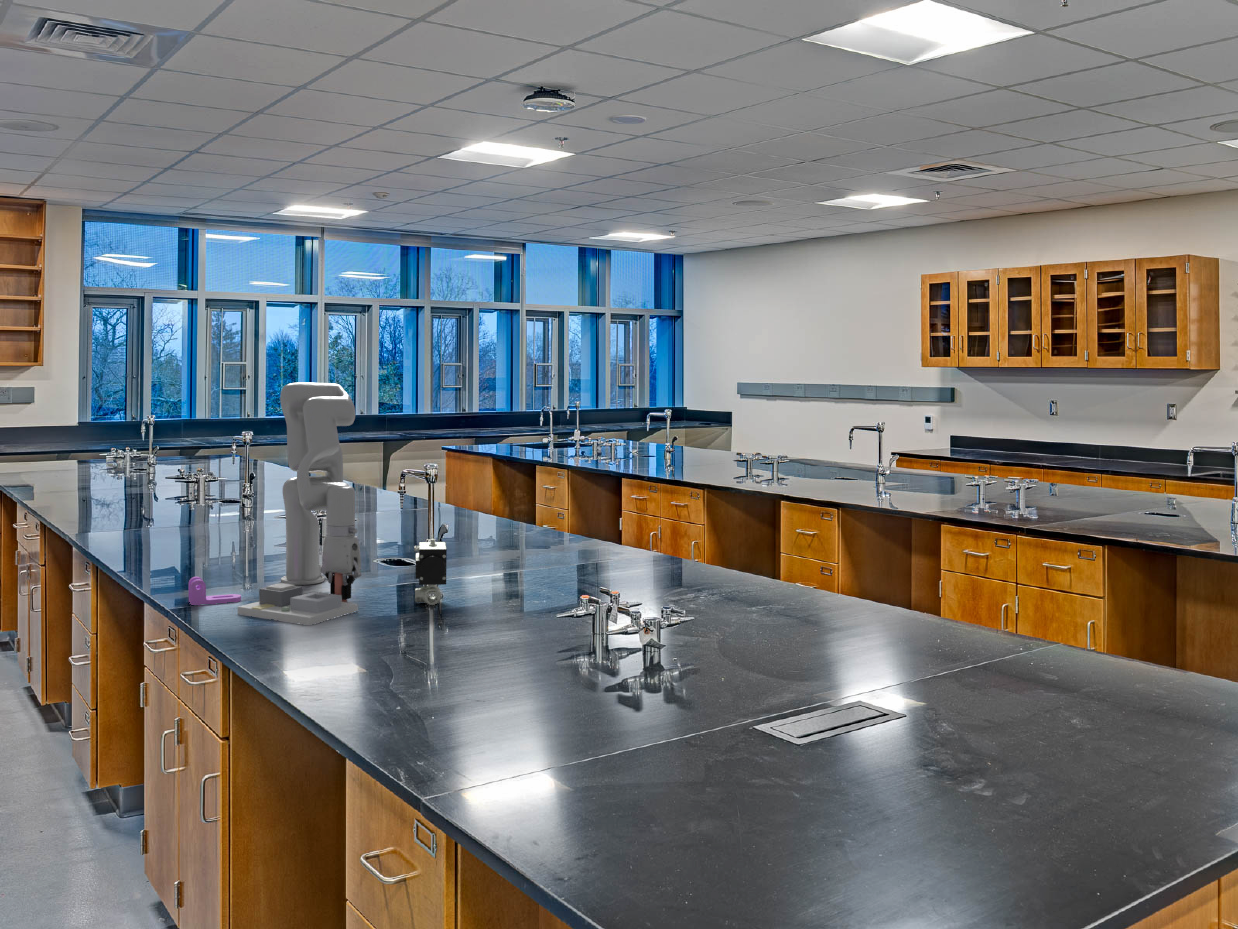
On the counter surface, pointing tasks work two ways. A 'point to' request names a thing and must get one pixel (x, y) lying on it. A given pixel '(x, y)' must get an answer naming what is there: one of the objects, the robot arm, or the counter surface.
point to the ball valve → (430, 570)
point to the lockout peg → (339, 584)
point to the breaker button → (281, 586)
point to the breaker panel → (295, 613)
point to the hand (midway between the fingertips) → (340, 597)
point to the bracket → (199, 594)
